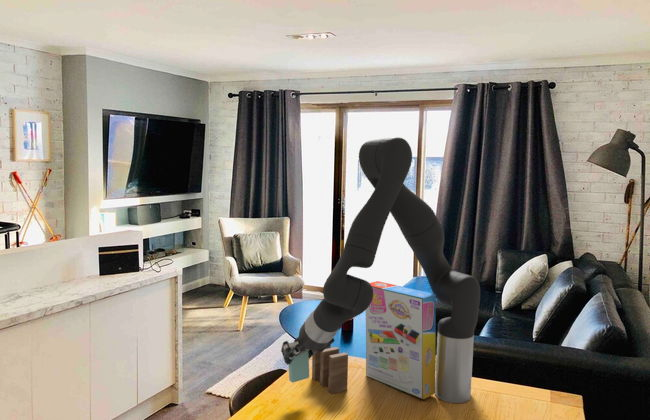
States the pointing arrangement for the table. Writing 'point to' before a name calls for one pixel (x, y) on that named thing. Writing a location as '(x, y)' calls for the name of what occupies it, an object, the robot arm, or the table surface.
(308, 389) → the table surface
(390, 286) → the game box
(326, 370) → the domino
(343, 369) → the domino
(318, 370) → the domino
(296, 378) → the teal domino
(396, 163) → the robot arm
